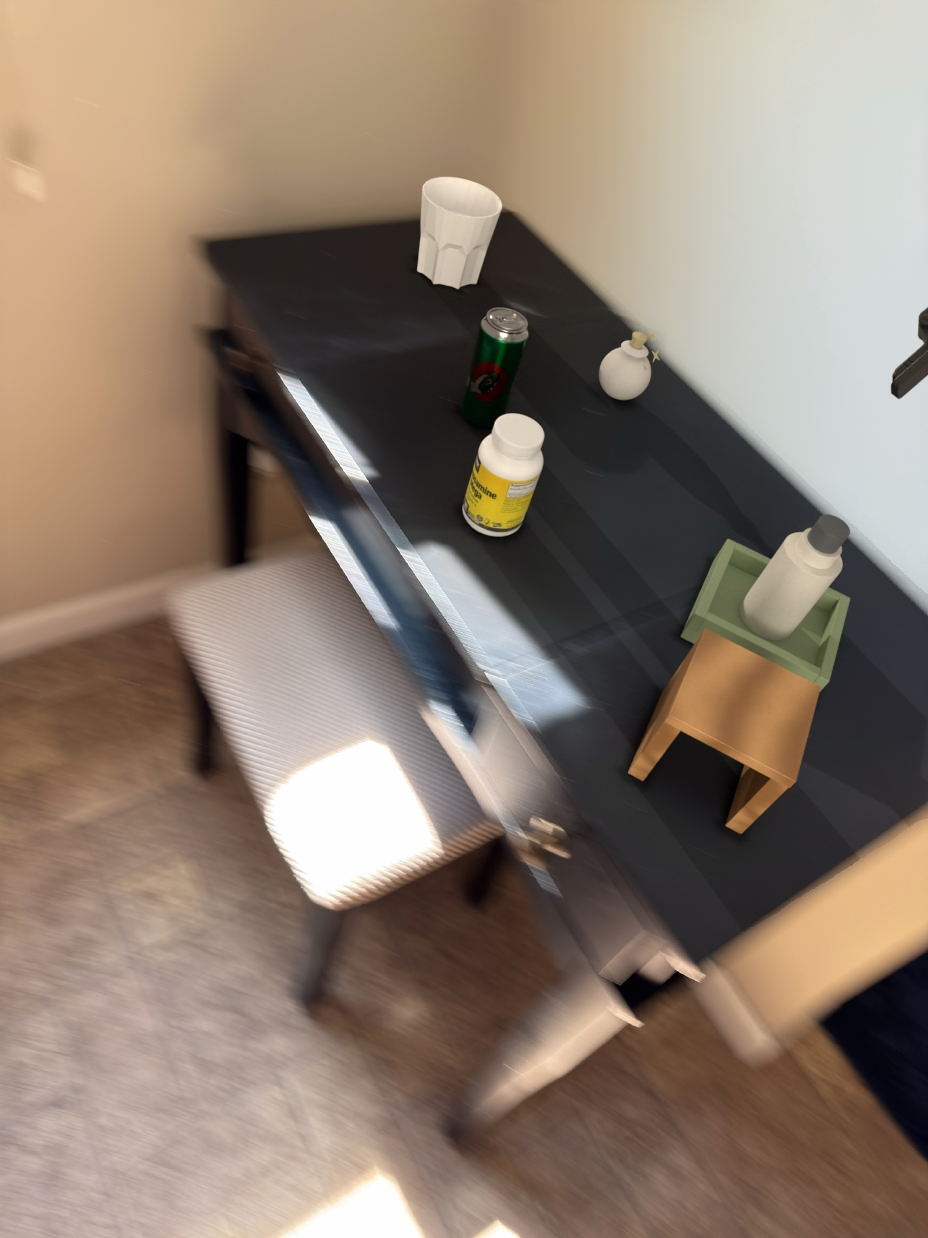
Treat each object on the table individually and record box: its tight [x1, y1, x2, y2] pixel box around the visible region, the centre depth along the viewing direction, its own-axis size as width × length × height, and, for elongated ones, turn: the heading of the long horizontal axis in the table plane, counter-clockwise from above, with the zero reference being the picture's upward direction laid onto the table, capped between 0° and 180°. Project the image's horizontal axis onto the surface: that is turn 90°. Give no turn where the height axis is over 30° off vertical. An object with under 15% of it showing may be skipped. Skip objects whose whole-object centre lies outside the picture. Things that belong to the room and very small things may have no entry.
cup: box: [416, 176, 503, 290], centre depth 111 cm, size 10×10×10 cm
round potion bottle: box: [598, 331, 660, 401], centre depth 100 cm, size 6×7×10 cm
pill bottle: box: [462, 412, 545, 537], centre depth 82 cm, size 6×6×11 cm
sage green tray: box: [680, 538, 851, 692], centre depth 83 cm, size 13×12×4 cm
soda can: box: [459, 307, 530, 428], centre depth 92 cm, size 5×5×12 cm
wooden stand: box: [627, 628, 821, 835], centre depth 69 cm, size 10×10×9 cm
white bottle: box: [739, 514, 851, 640], centre depth 78 cm, size 5×5×12 cm
